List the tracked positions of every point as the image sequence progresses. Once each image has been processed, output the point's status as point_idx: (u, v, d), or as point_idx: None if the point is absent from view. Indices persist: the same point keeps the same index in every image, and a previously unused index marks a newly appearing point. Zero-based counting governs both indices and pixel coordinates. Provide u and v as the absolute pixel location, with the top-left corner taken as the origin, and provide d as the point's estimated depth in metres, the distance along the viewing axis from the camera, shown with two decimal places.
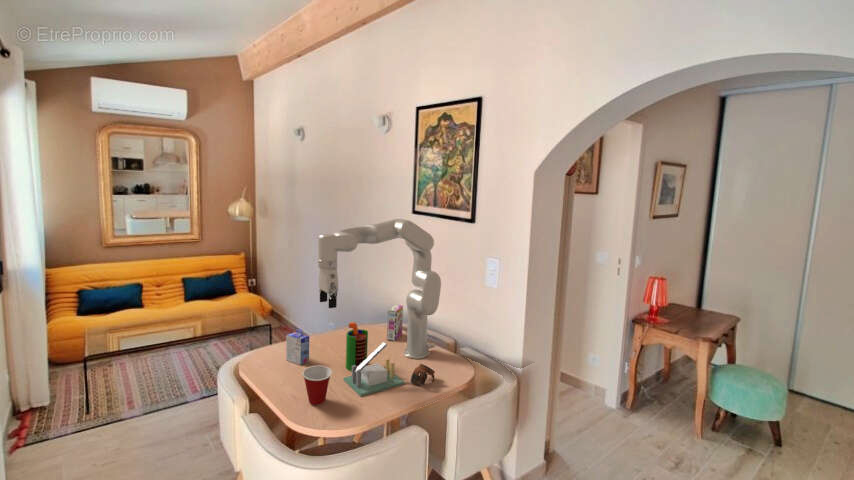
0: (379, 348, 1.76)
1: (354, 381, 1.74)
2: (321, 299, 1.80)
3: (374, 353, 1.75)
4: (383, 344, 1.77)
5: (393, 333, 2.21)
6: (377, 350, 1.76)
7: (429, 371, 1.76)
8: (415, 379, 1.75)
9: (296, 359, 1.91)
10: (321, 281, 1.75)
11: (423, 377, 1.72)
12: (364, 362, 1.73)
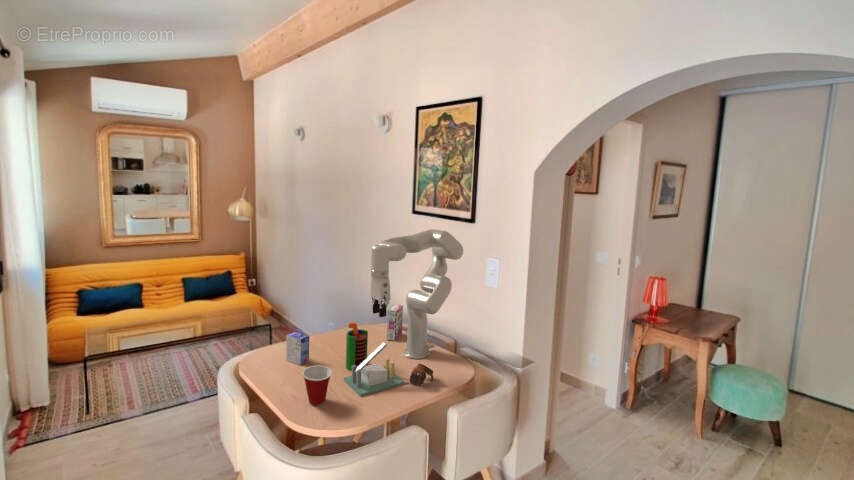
0: (379, 348, 1.76)
1: (354, 381, 1.74)
2: (374, 310, 1.86)
3: (374, 353, 1.75)
4: (383, 344, 1.77)
5: (393, 333, 2.21)
6: (377, 350, 1.76)
7: (428, 371, 1.76)
8: (414, 378, 1.75)
9: (296, 359, 1.91)
10: (373, 290, 1.83)
11: (422, 377, 1.72)
12: (364, 362, 1.73)
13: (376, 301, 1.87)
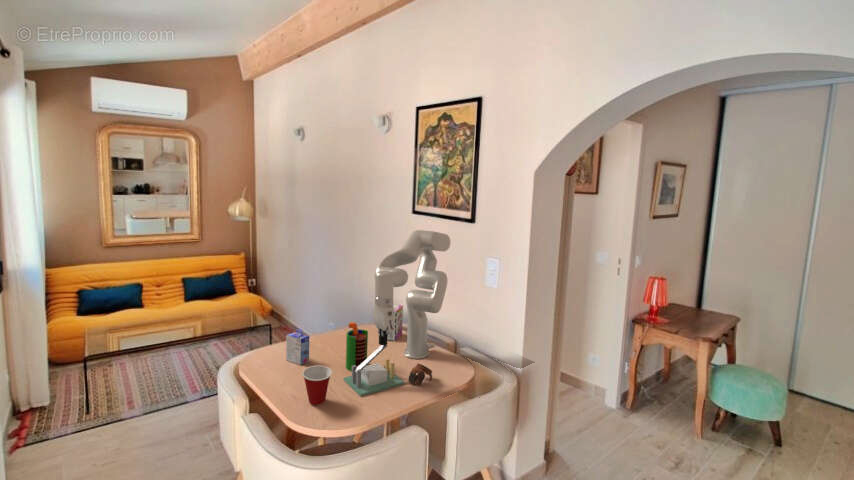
0: (379, 349, 1.76)
1: (354, 381, 1.74)
2: None
3: (374, 353, 1.75)
4: (383, 345, 1.77)
5: (393, 333, 2.21)
6: (377, 350, 1.76)
7: (427, 371, 1.76)
8: (412, 378, 1.76)
9: (296, 359, 1.91)
10: (377, 318, 1.75)
11: (421, 377, 1.72)
12: (364, 362, 1.73)
13: None
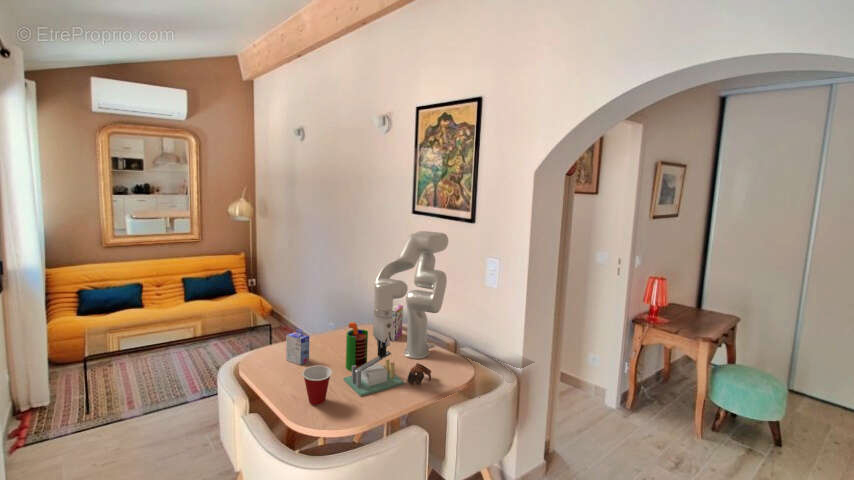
0: None
1: (354, 381, 1.74)
2: None
3: (377, 358, 1.76)
4: (387, 352, 1.79)
5: None
6: None
7: (426, 370, 1.76)
8: (412, 378, 1.76)
9: (296, 359, 1.91)
10: (376, 330, 1.75)
11: (420, 376, 1.72)
12: (366, 364, 1.74)
13: None
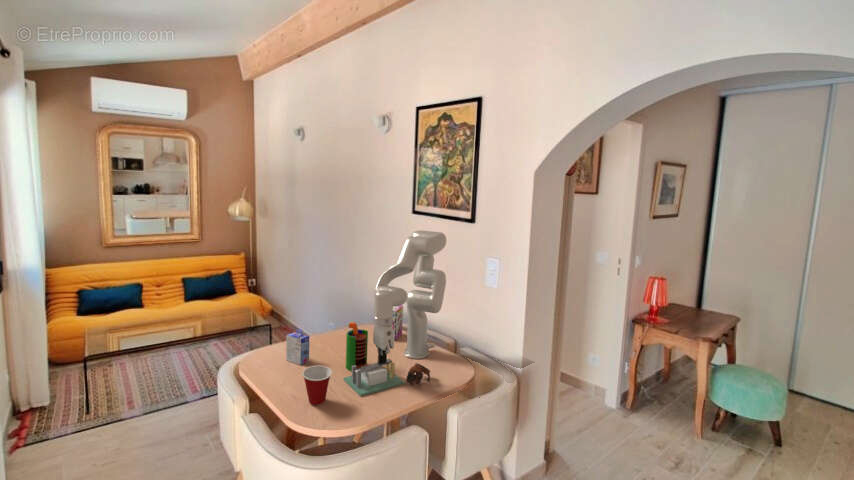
0: None
1: (354, 381, 1.74)
2: None
3: (378, 364, 1.77)
4: (389, 360, 1.80)
5: None
6: None
7: (425, 370, 1.77)
8: (411, 378, 1.76)
9: (296, 359, 1.91)
10: (376, 337, 1.76)
11: (419, 376, 1.72)
12: (366, 367, 1.74)
13: None
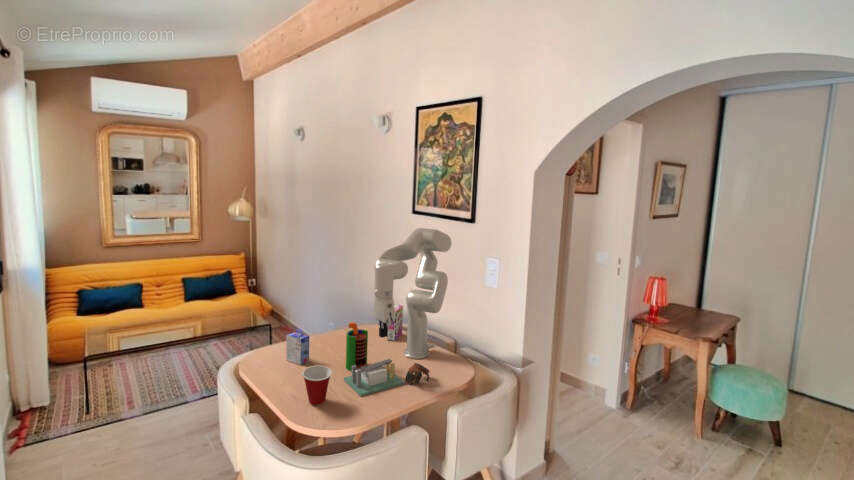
0: (384, 362, 1.79)
1: (354, 381, 1.74)
2: None
3: (378, 364, 1.77)
4: (389, 360, 1.80)
5: (393, 333, 2.21)
6: (382, 362, 1.78)
7: (424, 370, 1.77)
8: (410, 378, 1.76)
9: (296, 359, 1.91)
10: (377, 310, 1.75)
11: (418, 376, 1.72)
12: (366, 367, 1.74)
13: None
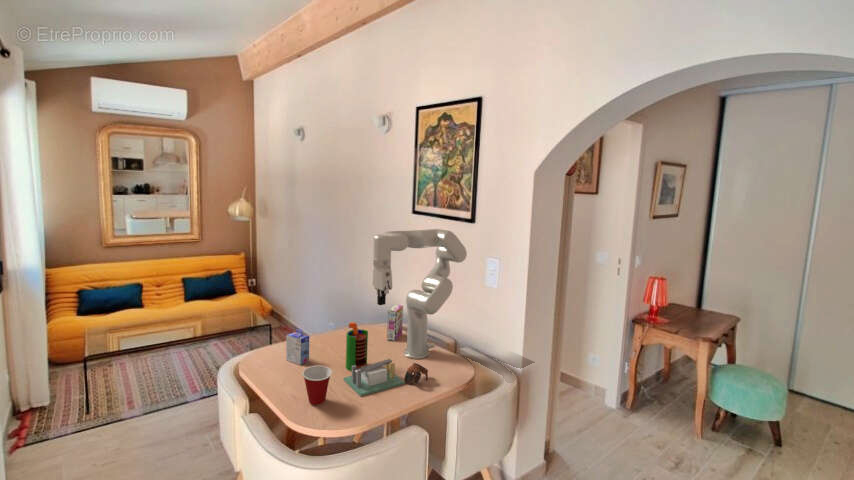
0: (384, 362, 1.79)
1: (354, 381, 1.74)
2: None
3: (378, 364, 1.77)
4: (389, 360, 1.80)
5: (393, 333, 2.21)
6: (382, 362, 1.78)
7: (423, 370, 1.77)
8: (409, 378, 1.76)
9: (296, 359, 1.91)
10: (375, 279, 1.85)
11: (417, 376, 1.72)
12: (366, 367, 1.74)
13: None
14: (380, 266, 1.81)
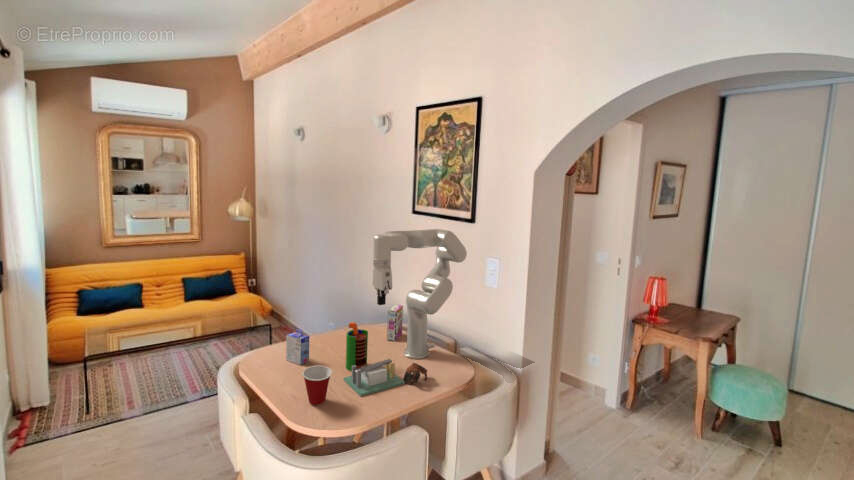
0: (384, 362, 1.79)
1: (354, 381, 1.74)
2: None
3: (378, 364, 1.77)
4: (389, 360, 1.80)
5: (393, 333, 2.21)
6: (382, 362, 1.78)
7: (422, 370, 1.77)
8: (408, 377, 1.76)
9: (296, 359, 1.91)
10: (375, 279, 1.85)
11: (416, 376, 1.73)
12: (366, 367, 1.74)
13: None
14: (380, 266, 1.81)
